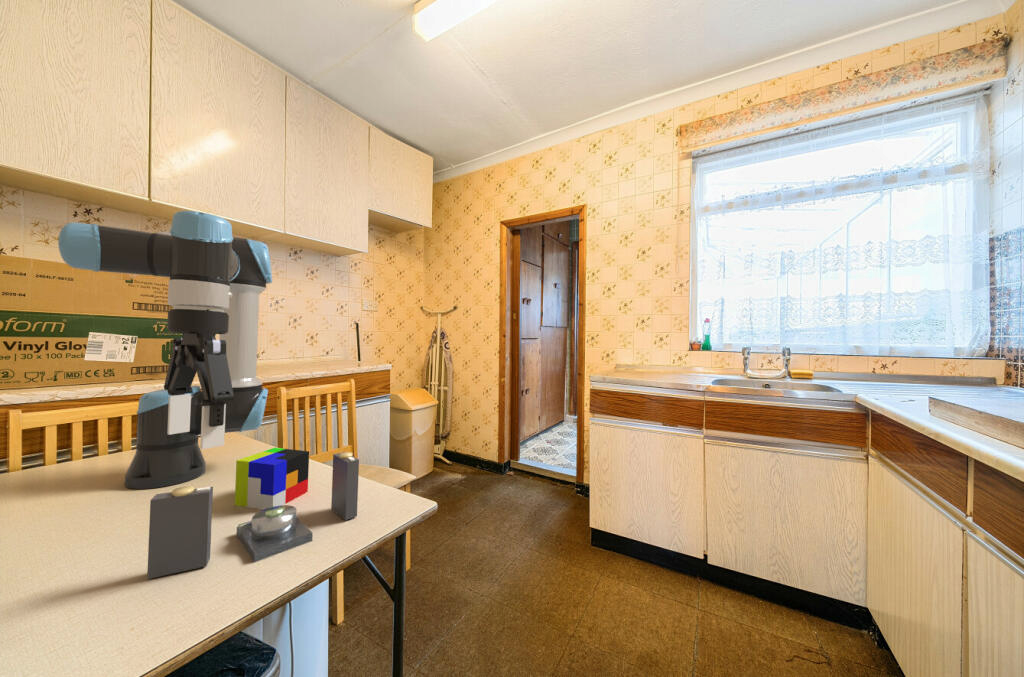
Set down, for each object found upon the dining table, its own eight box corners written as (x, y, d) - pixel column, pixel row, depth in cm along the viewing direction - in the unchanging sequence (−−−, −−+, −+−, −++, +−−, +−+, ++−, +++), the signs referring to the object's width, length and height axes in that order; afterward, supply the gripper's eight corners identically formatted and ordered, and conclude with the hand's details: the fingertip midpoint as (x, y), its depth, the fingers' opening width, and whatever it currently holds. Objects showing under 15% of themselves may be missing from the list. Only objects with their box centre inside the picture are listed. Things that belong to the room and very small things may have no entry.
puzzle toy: (272, 511, 77) (274, 464, 77) (234, 505, 79) (236, 460, 79) (307, 492, 87) (309, 451, 87) (273, 487, 89) (274, 447, 89)
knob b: (330, 509, 78) (332, 451, 78) (342, 505, 80) (344, 449, 80) (345, 520, 73) (347, 459, 74) (357, 516, 75) (359, 456, 76)
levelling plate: (236, 535, 67) (237, 507, 67) (289, 518, 74) (290, 492, 74) (254, 562, 60) (255, 530, 60) (312, 540, 66) (313, 512, 66)
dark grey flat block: (146, 579, 54) (150, 496, 54) (153, 569, 56) (157, 490, 57) (206, 566, 58) (209, 488, 58) (210, 557, 60) (213, 482, 60)
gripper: (263, 310, 55) (258, 447, 55) (197, 312, 68) (193, 423, 68) (202, 305, 49) (196, 460, 48) (142, 308, 61) (137, 431, 61)
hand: (194, 439), depth 58 cm, fingers open, 13 cm apart
